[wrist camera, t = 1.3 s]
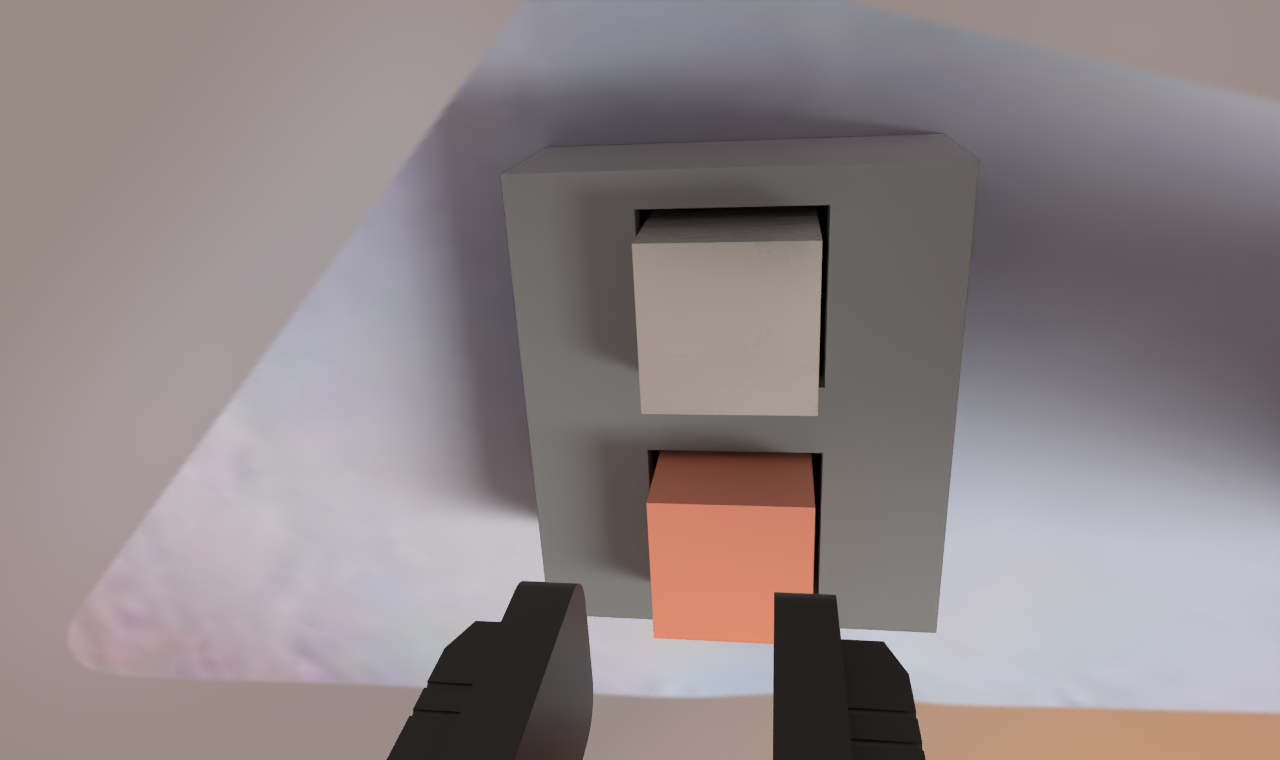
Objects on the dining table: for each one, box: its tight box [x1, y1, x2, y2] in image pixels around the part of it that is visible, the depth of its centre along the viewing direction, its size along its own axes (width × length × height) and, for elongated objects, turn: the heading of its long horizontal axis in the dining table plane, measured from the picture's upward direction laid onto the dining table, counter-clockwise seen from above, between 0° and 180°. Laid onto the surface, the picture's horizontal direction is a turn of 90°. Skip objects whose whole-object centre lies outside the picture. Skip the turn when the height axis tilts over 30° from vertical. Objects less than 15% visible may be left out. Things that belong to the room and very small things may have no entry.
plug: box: [632, 205, 822, 416], centre depth 23 cm, size 4×4×4 cm
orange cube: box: [646, 450, 815, 644], centre depth 26 cm, size 4×4×4 cm
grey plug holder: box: [500, 134, 980, 633], centre depth 27 cm, size 12×14×5 cm
